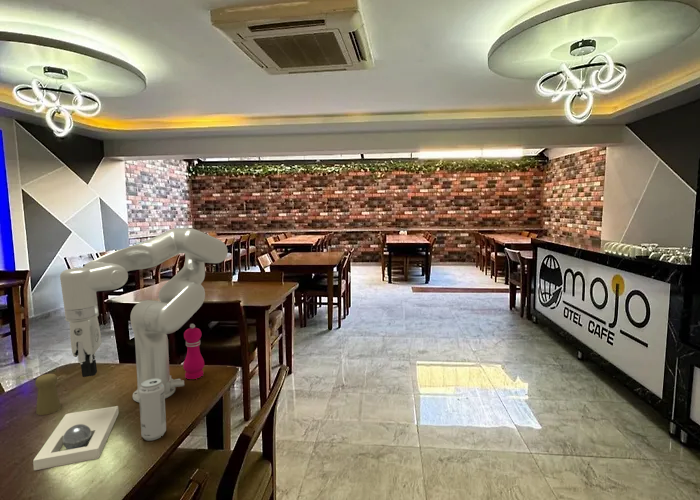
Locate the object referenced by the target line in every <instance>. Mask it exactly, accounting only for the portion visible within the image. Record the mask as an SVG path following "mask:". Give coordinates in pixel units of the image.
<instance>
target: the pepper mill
mask: <svg viewBox="0 0 700 500" xmlns="http://www.w3.org/2000/svg"><path fill="white" fill-rule="evenodd" d="M201 337H202V331H201V329H200V328H198V327H196V325H195V324H194V323H190V324H189V328H187V329H186V330H185V331H184V332H183V339H184V340H185V346H186V348H187V351H186V356H185V358H184V360H183V363H182V364H183V368H182V369H183V370H184V378H185V379H186V378H187V379H196V378H199V377H201V376H203V377H204V375H203V374H204V367H205V359H204V358H203V356H202V354H201V349H200V345H201ZM201 378H202V377H201ZM187 379H186V380H187ZM196 380H197V379H196Z"/></svg>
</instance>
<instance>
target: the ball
mask: <svg viewBox="0 0 700 500" xmlns="http://www.w3.org/2000/svg"><path fill="white" fill-rule="evenodd" d="M90 439H91V430H90V428H89V427H88V426H86V425H84V424H78V425H74V426H72V427H71V428H69V429H68V430H67V431H66V432H65V434H64V436H63V445H62V446H64V447H65V449H66V450H69V449H75V448H80V447H86V446H88V444H89V442H90Z"/></svg>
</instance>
